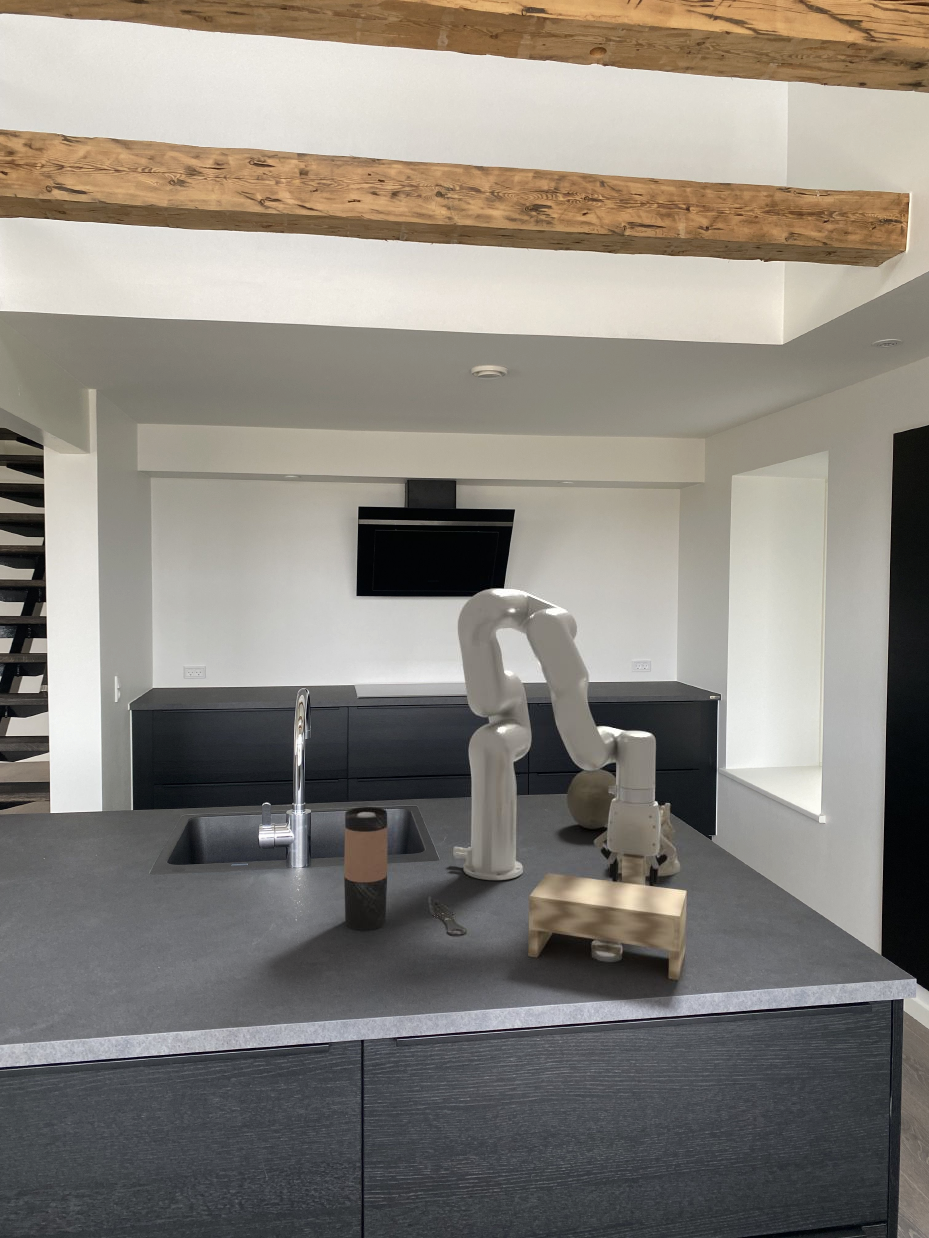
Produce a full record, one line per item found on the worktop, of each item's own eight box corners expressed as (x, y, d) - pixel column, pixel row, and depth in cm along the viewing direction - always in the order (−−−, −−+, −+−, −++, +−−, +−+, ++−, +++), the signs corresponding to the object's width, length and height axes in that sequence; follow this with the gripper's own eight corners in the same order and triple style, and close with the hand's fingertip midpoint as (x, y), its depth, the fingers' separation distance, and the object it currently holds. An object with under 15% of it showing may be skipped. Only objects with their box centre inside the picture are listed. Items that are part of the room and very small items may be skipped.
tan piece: (597, 934, 150) (598, 889, 149) (619, 889, 172) (620, 849, 172) (632, 939, 148) (633, 893, 148) (649, 893, 170) (650, 853, 170)
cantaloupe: (554, 827, 216) (555, 768, 215) (589, 818, 225) (590, 761, 225) (598, 840, 205) (599, 778, 205) (633, 829, 215) (635, 770, 214)
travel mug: (393, 917, 156) (394, 809, 155) (375, 933, 149) (376, 819, 148) (355, 912, 158) (356, 805, 158) (336, 927, 151) (337, 815, 150)
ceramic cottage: (677, 854, 195) (674, 789, 194) (683, 881, 179) (680, 811, 178) (607, 854, 198) (604, 790, 197) (607, 881, 182) (604, 811, 181)
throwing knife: (447, 938, 148) (447, 935, 148) (418, 898, 167) (418, 895, 167) (471, 935, 149) (471, 932, 149) (439, 895, 168) (439, 892, 168)
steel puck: (588, 960, 140) (588, 948, 140) (594, 948, 144) (594, 936, 144) (619, 965, 138) (619, 953, 138) (624, 952, 143) (624, 941, 143)
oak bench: (528, 956, 140) (528, 896, 140) (546, 928, 152) (547, 873, 151) (678, 980, 132) (679, 916, 132) (685, 949, 144) (686, 890, 144)
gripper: (587, 794, 168) (586, 884, 169) (678, 803, 162) (676, 896, 163) (595, 786, 175) (593, 872, 176) (682, 794, 169) (680, 883, 170)
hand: (633, 883), depth 169 cm, fingers open, 6 cm apart
